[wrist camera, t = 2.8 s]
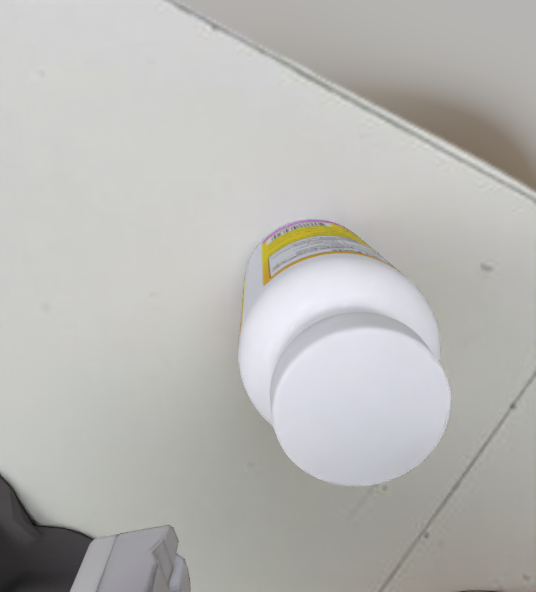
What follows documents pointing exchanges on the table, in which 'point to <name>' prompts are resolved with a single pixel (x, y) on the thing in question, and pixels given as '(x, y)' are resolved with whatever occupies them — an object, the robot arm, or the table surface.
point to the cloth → (36, 551)
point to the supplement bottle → (341, 356)
